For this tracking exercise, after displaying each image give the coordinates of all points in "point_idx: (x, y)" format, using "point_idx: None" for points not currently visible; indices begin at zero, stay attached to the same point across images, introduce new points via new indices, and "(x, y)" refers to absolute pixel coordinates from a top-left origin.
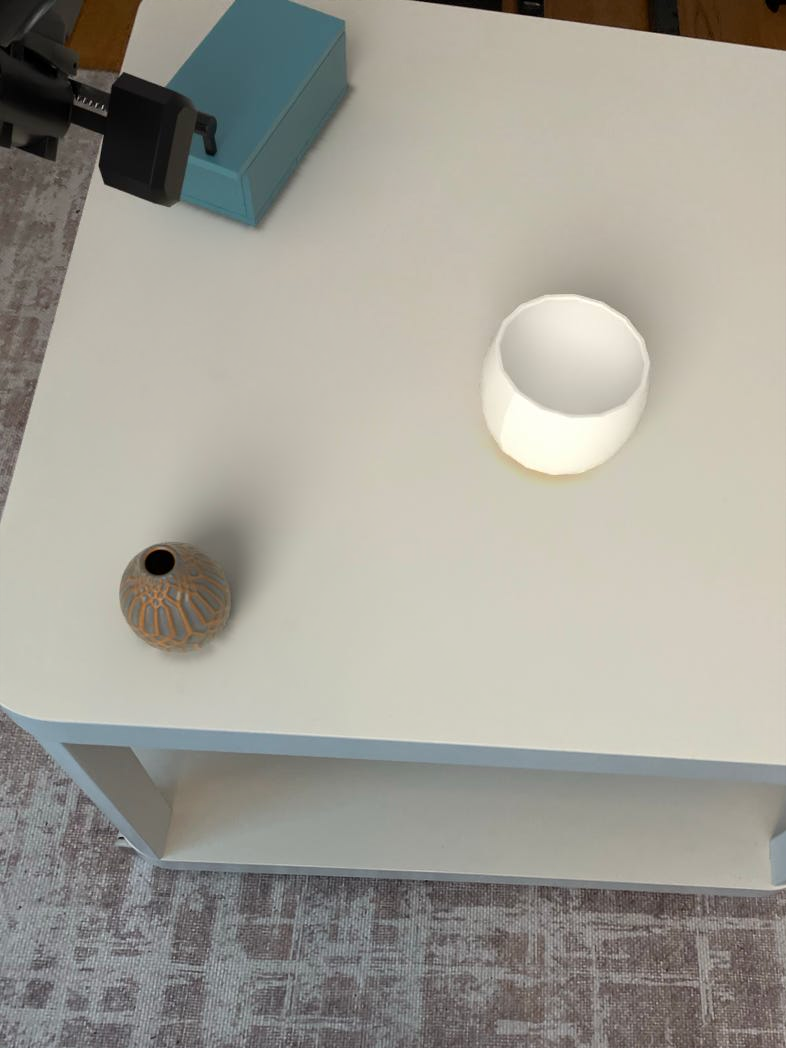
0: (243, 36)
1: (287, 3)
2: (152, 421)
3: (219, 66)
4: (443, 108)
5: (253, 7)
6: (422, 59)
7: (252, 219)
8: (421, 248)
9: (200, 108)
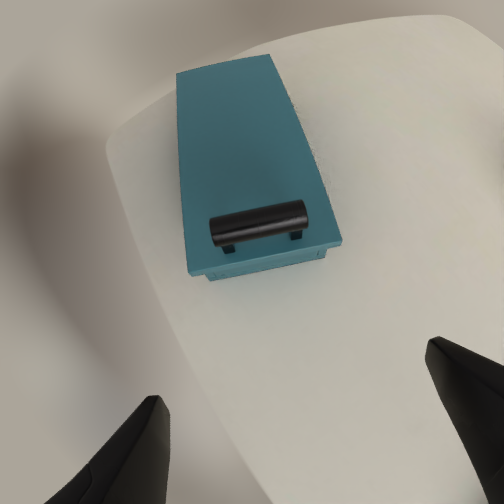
0: (207, 102)
1: (217, 65)
2: (396, 499)
3: (212, 137)
4: (340, 81)
5: (195, 81)
6: (294, 61)
7: (323, 254)
8: (440, 188)
9: (234, 189)
